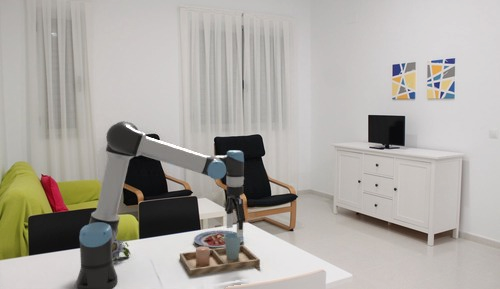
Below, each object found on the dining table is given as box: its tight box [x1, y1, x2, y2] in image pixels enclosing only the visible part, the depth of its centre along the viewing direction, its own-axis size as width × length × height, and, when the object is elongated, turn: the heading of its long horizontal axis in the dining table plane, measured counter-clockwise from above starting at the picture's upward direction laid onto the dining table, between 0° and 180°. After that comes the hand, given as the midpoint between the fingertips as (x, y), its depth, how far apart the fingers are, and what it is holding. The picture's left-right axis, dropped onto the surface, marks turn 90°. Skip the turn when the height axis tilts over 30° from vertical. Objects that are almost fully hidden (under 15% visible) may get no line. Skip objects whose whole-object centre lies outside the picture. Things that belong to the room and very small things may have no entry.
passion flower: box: [112, 236, 131, 261], centre depth 188 cm, size 11×11×12 cm
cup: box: [224, 232, 241, 260], centre depth 187 cm, size 8×8×10 cm
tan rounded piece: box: [195, 245, 211, 267], centre depth 179 cm, size 6×6×7 cm
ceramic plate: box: [193, 229, 245, 248], centre depth 212 cm, size 26×26×3 cm
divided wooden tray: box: [179, 244, 261, 277], centre depth 182 cm, size 31×20×4 cm, turn 112°
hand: (234, 231), depth 183 cm, fingers open, 13 cm apart
